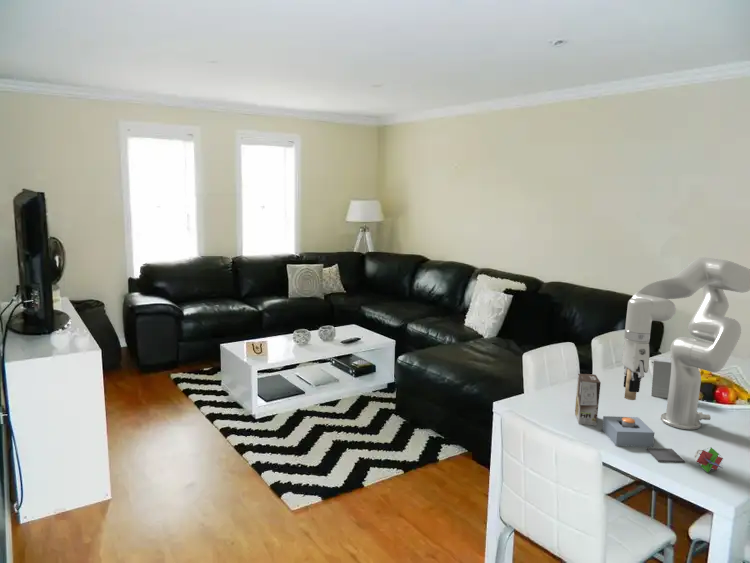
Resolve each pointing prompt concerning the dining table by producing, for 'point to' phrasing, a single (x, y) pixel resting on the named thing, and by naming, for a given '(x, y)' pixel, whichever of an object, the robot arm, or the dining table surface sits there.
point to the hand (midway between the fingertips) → (631, 388)
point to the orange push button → (628, 422)
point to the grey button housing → (628, 432)
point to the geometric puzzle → (708, 459)
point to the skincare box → (661, 377)
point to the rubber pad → (665, 455)
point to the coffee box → (587, 399)
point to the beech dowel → (628, 394)
